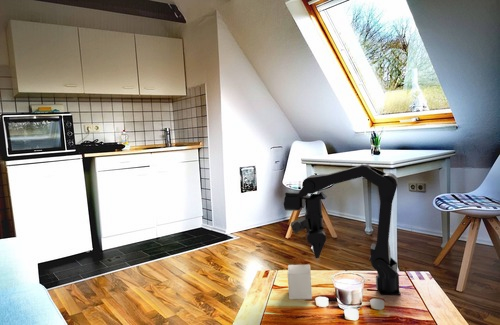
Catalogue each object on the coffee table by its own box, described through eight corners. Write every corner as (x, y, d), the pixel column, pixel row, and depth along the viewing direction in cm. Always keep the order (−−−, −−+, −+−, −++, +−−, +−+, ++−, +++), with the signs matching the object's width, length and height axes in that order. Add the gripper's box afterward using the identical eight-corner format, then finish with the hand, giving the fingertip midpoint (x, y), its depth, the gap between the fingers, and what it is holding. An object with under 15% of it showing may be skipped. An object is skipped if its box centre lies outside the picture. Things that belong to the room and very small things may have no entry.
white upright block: (290, 289, 129) (288, 264, 128) (311, 288, 128) (310, 264, 127) (289, 299, 121) (287, 273, 120) (311, 299, 120) (310, 273, 119)
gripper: (291, 206, 140) (294, 245, 142) (290, 218, 122) (293, 264, 123) (320, 204, 139) (323, 244, 140) (324, 217, 120) (327, 263, 122)
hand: (316, 253), depth 131 cm, fingers open, 9 cm apart
